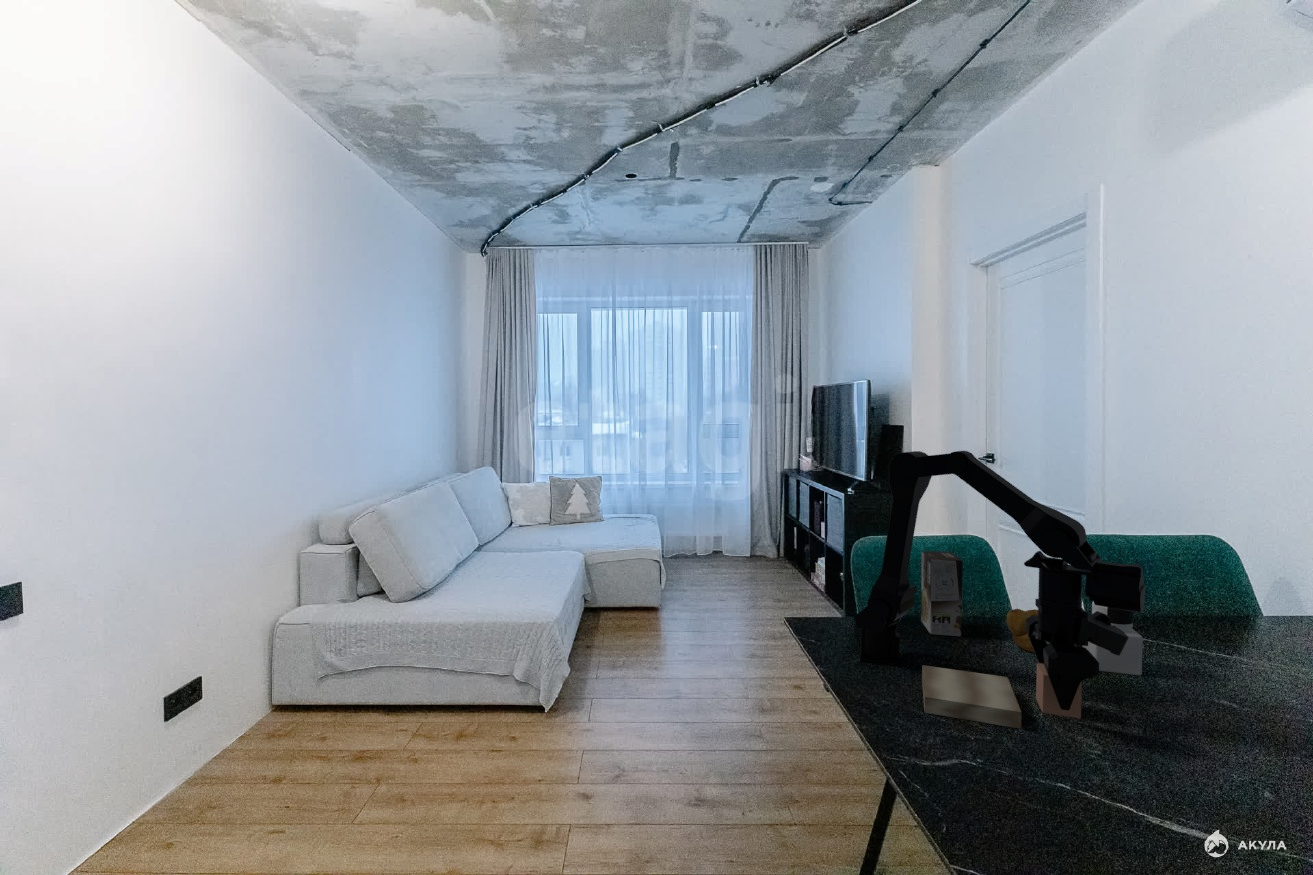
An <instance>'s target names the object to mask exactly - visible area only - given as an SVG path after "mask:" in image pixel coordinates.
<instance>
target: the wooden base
mask: <svg viewBox="0 0 1313 875" xmlns="http://www.w3.org/2000/svg"><path fill="white" fill-rule="evenodd" d="M921 668H922V669H921V683H922V695H923V696H922V697H923V698H922V699H923V709H924V714H930V715H937V716H943V717H949V718H956V719H959V720H960V719H961V720H966V721H973V722H979V723H984V724H985V723H986V724H990V725H996V726H1003V727H1008V728H1014V729H1020V730H1022V710H1021V707H1020V706H1019V703H1018V700H1017V698H1016V695H1015V693H1014V691H1013V687H1012V686H1011V682H1010V680H1009V678H1008V676H1000V675H996V674H988V673H987V674H986V673H979V672H974V671H967V670H960V669H959V670H958V669H952V668H945V667H937V666H932V665H931V666H930V665H924V664H923V665H922V666H921Z"/></svg>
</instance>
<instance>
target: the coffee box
mask: <svg viewBox="0 0 1313 875" xmlns="http://www.w3.org/2000/svg"><path fill="white" fill-rule="evenodd" d="M963 564H964V560H963V559H962V558H960V557H959V556H957V555H956V554H955V553H953V552H951V551H944V550H943V551H941V550H936V551H935V550H934V551H933V550H931V551H929V550H928V551H927V550H922V551H921V578H920V579H921V580H920V581H921V590H920V591H921V595H920V597H921V602H920V603H921V604H920V605H921V606H920V607H921V608H920V609H921V613H920V614H921V616H920V619H921V620H920V622H921V623H922V624H923V626H924V627H925V628H926V630H927V631H928V633H929V634H930V635H935V636H936V635H938V636H939V635H940V636H951V637H961V636H962V618H963V617H962V615H963V608H962V607H963V604H962V603H963V573H964V572H963V569H964V568H963V567H964V565H963Z"/></svg>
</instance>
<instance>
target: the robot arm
mask: <svg viewBox="0 0 1313 875" xmlns="http://www.w3.org/2000/svg"><path fill="white" fill-rule="evenodd" d="M946 475H955V476H956V477H958V478H959V479H960V480H962V481H963V482H964V483H965V484H967V485H968V486H969V487H971V488H972V489H974V490H975V491H976V492H978V493H979V494H981V496H983V497H984V498H986V499H987V500H988V501H989V502H990V503H992V504H994V505H995V506H996V508H997V507H998V508H999V509H1000V510H1001V511H1002V512H1004V513H1005V514H1007V515H1008V516H1009V517H1011V518H1012V519H1013V520H1014V521H1015V522H1016V523H1017V524H1018V525H1019V527H1020V528H1021V529H1022V531H1023V532H1024V534H1025V535H1026V537H1028V538H1029V539H1030V541H1031V542H1033V544H1034V545H1035V546H1036V547H1037V548H1038V549H1039V550H1038V551H1036V552H1034V554H1033V556H1032V557H1030V558H1029V559H1027V560H1025V562H1023V565H1024V566H1025V567H1026V568H1027V567H1028V568H1034V569H1038V590H1037V591H1038V598H1035V603H1034V604H1035V606H1036V608H1037V610H1038V615H1031V616H1030V617H1028V618H1027V619H1026V631H1027V633H1028V638H1029V640H1030V643H1031V645H1032V648H1033V650H1034V652H1033V653H1034V655H1035V658H1036V659H1037V660H1036V661H1037V663H1042V664H1044V666H1045V669H1046V672H1047V674H1048V677H1049V679H1050V682H1051V685H1052V687H1053V690H1054V693H1055V695H1056V698H1057V701H1058V703H1059V706H1060V708H1061V709H1062V710H1070V707H1071V705H1072V702H1073V699H1074V697H1075V694H1076V692H1077V689H1078V687H1079V685H1080V683H1081V682H1084V681H1086V680H1088V679H1090V680H1091V679H1093V678H1096V677H1098V676H1100V671H1099V662H1098V661H1097V660H1096V658H1095V657H1094V656H1093V655H1092V654H1091V653H1090V652H1089V651H1088V650H1087V649H1086V648H1085V647H1083V646H1088V642H1090V643H1092V644H1094V645H1097V646H1099V647H1102V648H1104V649H1106V650H1109V651H1110V652H1111V653H1112V654H1115V655H1118V656H1120V654H1121V652H1122V650H1123V648H1124V646H1125V644H1126V642H1127V640H1128V638H1129V637H1128V636H1127V635H1126V634H1125V633H1124V632H1123V631H1122V630H1120V629H1119V628H1117V627H1116V626H1114V625H1113V626H1112V625H1111V620H1110V618H1109V617H1108V616H1107V615H1106V614H1104V613H1101V612H1099V611H1096V612H1095V613H1093V614H1092V613H1091V614H1088V612H1087V611H1086V610H1085V609H1084V608H1083V584H1084V583H1083V581H1084V580H1083V576H1085V589H1084V590H1085V596H1086V597H1087V598H1088V599H1089V601H1092V602H1093V601H1094V604H1095V605H1098V606H1104V607H1109V608H1115V609H1121V610H1126V611H1132V612H1133V613H1139V614H1143V612H1144V610H1145V609H1144V608H1145V602H1146V600H1145V599H1146V585H1145V583H1144V574H1143V566H1142V565H1141V564H1135V563H1126V564H1125V563H1116V562H1110V561H1103V560H1102V558H1101V557H1100V555H1099V554H1098V553H1097V552H1096V550H1095V549H1094V548H1093V547H1092V545H1091V544H1090V542H1088V540H1087V533H1086V529H1085V527H1084V526H1083V524H1082V523H1080V522H1079V521H1078V520H1076V519H1075V518H1073V517H1071V516H1069V515H1068V514H1067V515H1066V514H1065V513H1063V512H1062V511H1059V510H1057V509H1055V508H1052V507H1049V506H1047V505H1044V504H1042V503H1040V502H1038V501H1036V500H1034V499H1033V498H1031V496H1028V495H1027V494H1026V493H1024V492H1023V491H1022V490H1021V489H1019V488H1018V487H1016V486H1015V485H1013V484H1012V483H1011V482H1009V481H1008V480H1007V479H1005V478H1004V477H1002V476H1001V475H999V473H997V472H996V471H994V470H993V469H991V468H990V467H989V466H987V465H986V464H985V463H983V462H982V461H980V460H979V459H977V457H976V456H975V455H974V454H973V453H972V452H970V451H968V450H958V451H957V450H956V451H952V452H950V453H941V454H932V455H928V454H927V453H925V452H923V451H920V450H919V451H915V450H914V451H913V450H912V451H904V452H900V453H897V454H896V455H894V456H893V457H892V458H891V459H890V461H889V463H888V485H889V489H890V494H891V496H892V498H891V499H892V502H891V508H890V514H889V515H890V516H889V521H888V526H887V527H888V528H887V534H886V538H885V546H884V553H883V558H882V559H883V560H882V564H881V571H880V573H879V575H878V577H877V578H876V581H875V582H874V584H873V586H872V588H871V591H870V593H869V596H868V598H867V602H866V607H865V608H864V607H863V609H861V610H860V611H858V613H857V614H855V615H854V617H853V618H854V622H855V625H856V627H857V628H859V629H860V648H859V649H860V650H859V656H858V659H859V661H863V662H864V661H865V662H871V663H879V664H883V665H884V664H887V665H891V666H894V665H895V666H896V665H897V660H899V659H900V633H899V632H897V624H898V623H900V621H901V619H902V617H903V616H906V615H907V614H908V613H909V612H910V611H911V609H913V608H914V607H915V606H916V604H915V596H916V593H917V589H918V586H917V585H913V584H910V580H909V576H908V574H909V566H910V562H911V561H910V560H911V554H912V547H913V541H914V536H915V532H916V531H915V530H916V524H917V518H918V511H919V504H920V502H921V500H922V498H923V496H924V495H925V493H926V491H927V489H928V487H929V484H930V481H931V479H932V477H934V476H935V477H936V476H946ZM1076 645H1078V646H1076Z"/></svg>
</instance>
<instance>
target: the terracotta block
mask: <svg viewBox="0 0 1313 875" xmlns="http://www.w3.org/2000/svg"><path fill="white" fill-rule="evenodd" d="M1035 680H1036V682H1035V684H1036V687H1035V699H1036V702H1037V704H1038V706H1039V708H1040V710H1041V712H1042V713H1043V714H1048V715H1054V716H1061V717H1066V718H1067V717H1068V718H1074V719H1079V720H1080V719H1081V720H1082V693H1083V692H1082V688H1083V687H1082V686H1083V683H1082V682H1083V681H1082V682H1081V683H1080V685H1079V687H1078V689H1077V692H1076V694H1075V697H1074V699H1073V702H1072V705H1071V707H1070V710H1062V709H1061V708H1060V706H1059V703H1058V701H1057V698H1056V695H1055V693H1054V690H1053V687H1052V685H1051V682H1050V679H1049V677H1048V674H1047V672H1046V669H1045V666H1044V664H1042V663H1039V662H1036V679H1035Z"/></svg>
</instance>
